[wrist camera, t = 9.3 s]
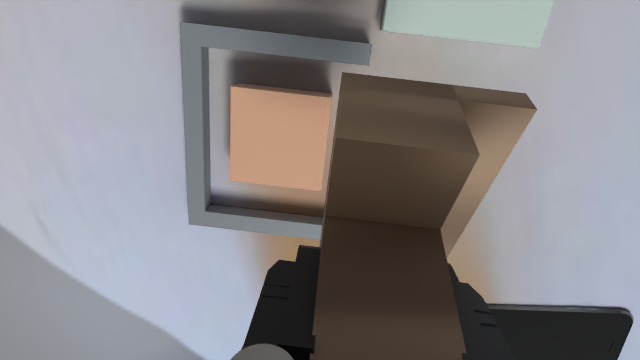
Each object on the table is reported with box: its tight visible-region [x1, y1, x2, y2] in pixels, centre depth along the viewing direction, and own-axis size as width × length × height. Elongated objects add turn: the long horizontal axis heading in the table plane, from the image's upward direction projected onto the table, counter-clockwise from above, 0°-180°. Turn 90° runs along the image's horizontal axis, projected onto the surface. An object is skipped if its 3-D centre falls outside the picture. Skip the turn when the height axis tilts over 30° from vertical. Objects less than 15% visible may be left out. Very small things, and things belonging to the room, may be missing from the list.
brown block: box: [309, 72, 537, 360], centre depth 8 cm, size 8×5×11 cm, turn 174°
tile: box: [230, 83, 332, 191], centre depth 22 cm, size 6×6×2 cm
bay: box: [180, 22, 372, 240], centre depth 22 cm, size 13×11×1 cm
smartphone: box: [486, 304, 633, 360], centre depth 28 cm, size 8×1×15 cm
